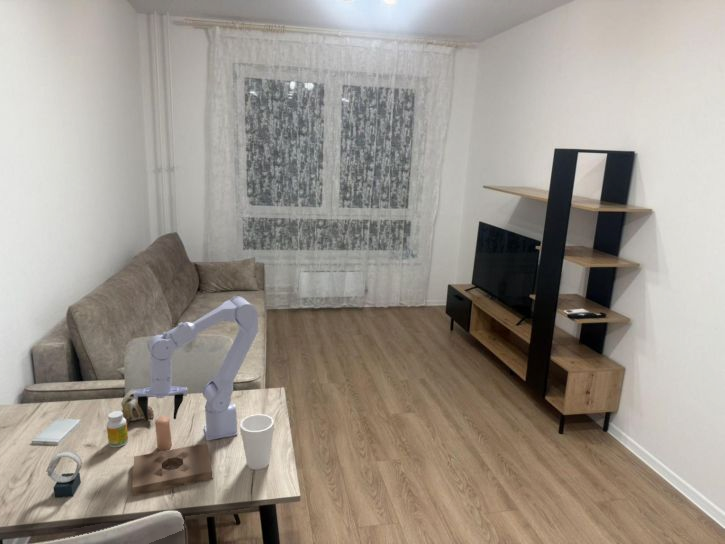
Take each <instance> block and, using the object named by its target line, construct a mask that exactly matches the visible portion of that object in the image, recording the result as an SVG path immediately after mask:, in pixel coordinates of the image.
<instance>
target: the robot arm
mask: <svg viewBox="0 0 725 544" xmlns="http://www.w3.org/2000/svg"><path fill="white" fill-rule="evenodd" d="M259 316H260V315H259V312H258V310H257V308H256V307H255V306H254V305H252V303H250V302H249V301H248V300H246V298H244V297H243V296H239V295H238V296H233V297H232V298H230V299H229V300H225V301H224V302H223V303H222V304H221V305H220V306H217V307H216V308H215V309H213V310H211V311H209V312H208V313H206V314H205V315H203V316H201V317H200V318H198V319H196V320H195V321H193V322H190V321H185V322H182V321H181V322H179V323H177V326H175V327H174V328H171V329H169V330H168V331H163V332H162V334H156V335H154V336H153V337H152V338H151V339H149V342H148V344H147V346H148V349H149V351H150V363H149V367H150V373H149V374H150V376H149V377H150V381H149V382H150V383H149V384H150V387H146V388H141V389H134V399H138V405H139V406H140V408H141V409H142V411H143V414H144V416H145V419H144V421H145V422H149V420H148V418H149V413H148V406H149V398H156V399H165V397H170V396H171V397H172V396H173V397H174V399H173V403H174V404H173V407H174V409H173V420H176V419H177V415H178V411H179V409H180V406H181V404H182V403H183V400H184V397H188V387H187V386H176V385H175V386H173V385H172V367H173V366H172V356H173V355H174V352H175V351H177V350H178V349H180V348H181V347H183V346H185V345H187V344H189V343H191V342H192V341H194V340H196V338H198V335H199V333H201V332H203V331H205V330H207V329H209V328H212V327H214V326H215V325H217V324H220V323H221V322H223V321H224V322H228V323H236V324H237V326H238V329H239V330H238V331H237V334H236V336H235V339H234V340H233V341H232V344H231V346H230V349H228V352H227V354H226V357H225V358H224V360H223V363H222V364H221V366H220V368H219V370H218V372H217V374H215V375H213V376H212V377H211V379H210V381H209V382H207V384H206V385H205V386H204V387H203V389H202V395H203V398H204V399H205V400H206V402H205V406H204V411H205V415H204V416H205V426H204V435H205V440H206V441H211V440H216V439H222V438H228V437H233V436H238V418H237V417H238V416H237V415H238V414H237V407H236V403H235V402H234V403H231V401H232V399H231V397H232V394H233V393H234V387H233V386H234V380H235V379H236V377H237V375H238V373H239V370H240V369H241V367H242V364H243V363H244V360H245V359H246V357H247V355H248V353H249V350H250V349H251V347H252V344H253V343H254V341H255V338H256V336H257V334H258V331H259V324H258V323H259V321H258V320H259V319H258V318H259Z"/></svg>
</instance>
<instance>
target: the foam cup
mask: <svg viewBox="0 0 725 544" xmlns="http://www.w3.org/2000/svg"><path fill="white" fill-rule="evenodd" d="M239 427H240V428H239V432H240V436H241V439H242V440H241V441H242V445H243V450H244V454H245V455H244V456H245V459H246V464H247V465H246V466H247V467H248V468H249V469H250V470H253V471H256V470H263V469H265V468H266V467H268V466H269V464H270V460H271V453H272V444H273V438H274V437H273V436H274V431H275V421H274V418H273V417H271V416H270V415H267V414H264V413H254V414H252V415H247V416H246V417H244V418H243V419H241V421H240V422H239Z"/></svg>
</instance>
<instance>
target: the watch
mask: <svg viewBox="0 0 725 544" xmlns="http://www.w3.org/2000/svg"><path fill="white" fill-rule="evenodd" d="M62 458H68V459H70V460H73V461H74V462H75V463H76V469H75V471H74V472H70V473H69V472H68V473H61V475H60V474H59V473H57V472H56V471H55V469H56V467H57V466H58V464H59V463H60V461H61V459H62ZM82 467H83V461H82V458H81V456H80V455H79V454H78V453H76V452H74V451H71V450H61V451H60V452H56V453H55V455H54V456H53V457H52V459H51V461H50V462H49V464H48V466H47V468H46V471H45V472H47V476H48V477H49V478H50V479H51V480H52V481H54V482H56V483H55V484H54V486H53V494H54V495H53V496H54V499H59V498H71V497H74V495H75V494H76V492H77V490H78V488H79V487H80V485H81V483H82V482H81V474H80V471H81V469H82Z"/></svg>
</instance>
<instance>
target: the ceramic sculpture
mask: <svg viewBox="0 0 725 544" xmlns="http://www.w3.org/2000/svg"><path fill="white" fill-rule="evenodd" d="M134 390H135V389H134V388H130V389H129V391H128V392H127V393H126V394H125V395H124V397H123V399H122V401H121V403H120V404H121V405H120V406H121V407H122V410H121V411H122V412H123V417H124V418H125V419H126V423H127V425H128V424H129V423H130V421H132V422H134V421H137V420H141V419H144V420H145V416H144V414H143V411H142V409H141V408H140V406H139V405H138V399H134ZM148 413H149V418H148V421H150V420H151V421H153V420H154V419H155V418H154V417H155V415H154V410H153V408H152V407H151V406H149V405H148Z"/></svg>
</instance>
